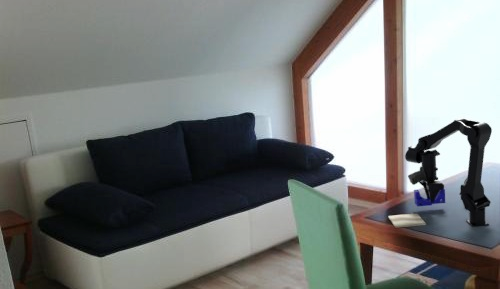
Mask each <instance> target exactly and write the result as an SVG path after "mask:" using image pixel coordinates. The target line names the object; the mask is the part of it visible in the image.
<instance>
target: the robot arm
mask: <svg viewBox="0 0 500 289" xmlns="http://www.w3.org/2000/svg"><path fill="white" fill-rule="evenodd" d="M492 130H493V129H492V127H491V126H490V124H489V123H488V122H480V121H476V120H472V119H468V118H465V117H461V118H456V119H454V120H453V121H452V122H450V123H448V124H447V125H446V126H443V127H442V128H440V129H438V130H437V131H435V132H434V133H431V134H427V135H424V136H421V137H419V138H418V140H417V141H418V142H417V144H416V145H415V146H412V145H411V146H408V147H407V150H406V151H405V155H404V158H405V160H406V162H408V163H414V164H421V166H420V167H419V170H417V171H414V172H413V173H410V174H408V175H407V177H408V179H409V182H410V184H411V185H413V186H414V185H417V184H418V183H419V185H421V186H422V187H423V189H424V192H425V196H426V199H430V201H431V202H434V200H435V198H436V196H437V194H438V192H439V190H444V189H445V184H444V183H443V182H441V181H440V180H439V177H438V176H437V171H438V170H439V168H438V167H437V158H436V157H438V156H440V155H441V153H440V152H439V151H438V150H437V149H435V148H437V147H438V146H439V145H440V144H441V143H442V142H443V141H444V140H445V139H447V138H449V137H450V136H452V135H454V134H455V133H457V132H460V133H461V134H462V135H463V136H466V138H467V141H468V144H469V146H470V148H469V158H468V159H469V161H468V170H467V176H466V178H467V182H466V183H465V184H464V183H463V184H461V185H460V187H459V188H460V191H459V196H460V200H461V201H462V204H463V206H464V210H467V211H468V213H469V214H468V215H469V216H468V217H469V218H466V219H465V221H466V222H467V223H468V224H469V225H470V226H471V227H479V226H488V225H489V226H490V222H488V221H487V220H486V208H487V207H490V205H491V203H492V202H491V201H490V199H489V198H488V197H487V196H486V194H485V188H484V185H483V183H482V174H483V164H484V158H485V157H484V156H485V147H487V146H486V145H487V144H488V142H489V141H490V139H491V136H492ZM432 149H433V150H432Z"/></svg>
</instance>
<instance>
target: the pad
mask: <svg viewBox="0 0 500 289" xmlns="http://www.w3.org/2000/svg"><path fill="white" fill-rule="evenodd" d="M387 217H388V219H389V220H390V222H391V223H392V225H393V226H394V228H396V229H397V228H398V229H399V228H408V227H417V226H425V225H426V226H427V223H426V222H425V221H424V220H423V219H422V217H421V216H420V215H419V214H418V213H417V212H416V213H407V214H406V213H405V214H396V215H388V216H387Z"/></svg>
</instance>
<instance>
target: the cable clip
mask: <svg viewBox="0 0 500 289" xmlns="http://www.w3.org/2000/svg"><path fill="white" fill-rule="evenodd" d="M413 195H414V196H413V197H414V205H415V206H416V207H428V206H432V205H435V204H436V205H437V204H446V189H445V188H444V190H439V192H438V194H437V196H436V198H435V200H434V202H431V201H430V199H427V197H426V198H425V197H423V196H421V195H422V194H421V193H420V190H419V189H413Z"/></svg>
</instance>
